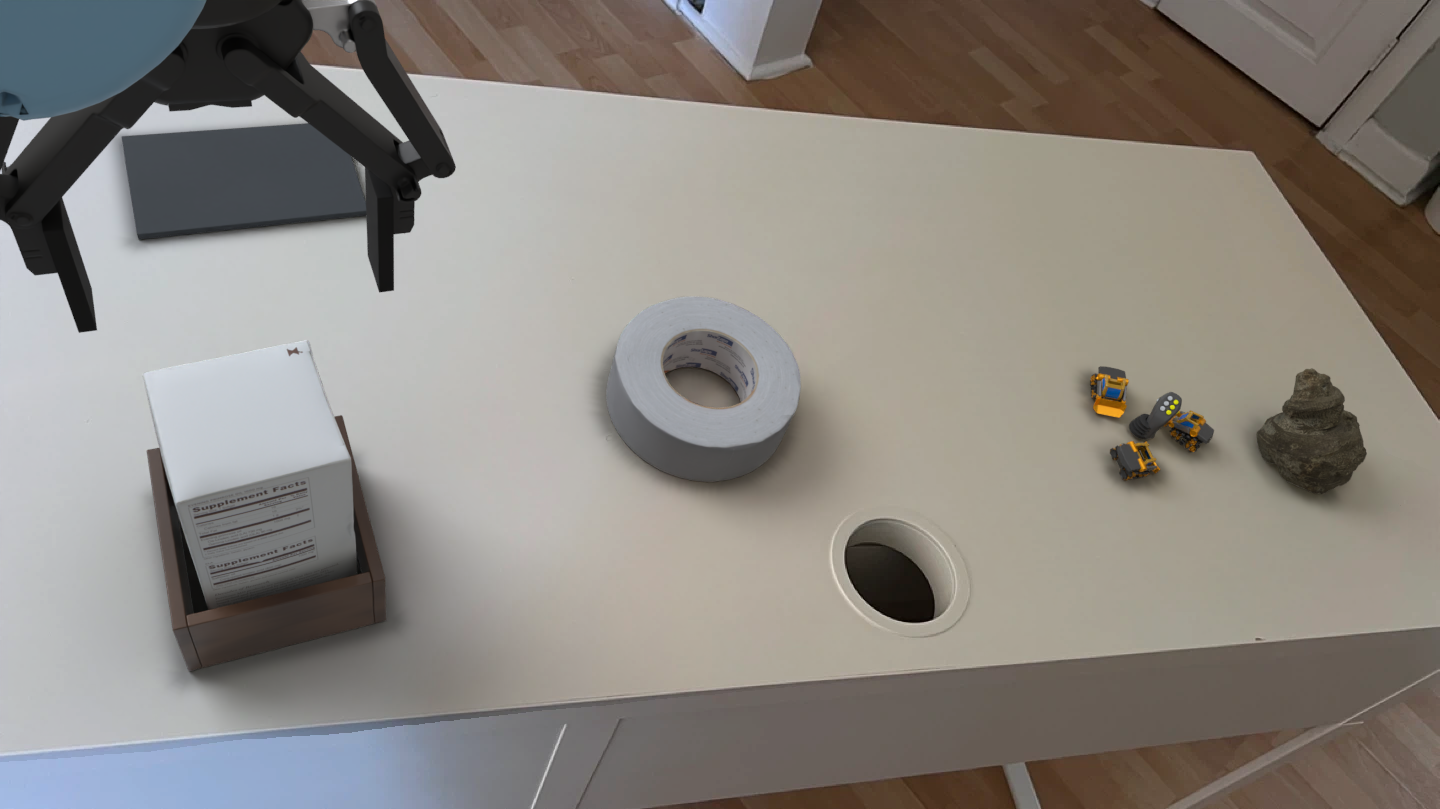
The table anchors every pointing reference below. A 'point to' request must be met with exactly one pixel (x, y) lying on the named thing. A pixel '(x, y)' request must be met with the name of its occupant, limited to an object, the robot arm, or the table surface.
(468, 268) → the table surface
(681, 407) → the tape roll
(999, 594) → the table surface
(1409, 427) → the table surface
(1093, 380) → the toy set
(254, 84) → the robot arm
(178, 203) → the mat
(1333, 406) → the seashell
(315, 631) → the brown open square box
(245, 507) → the supplement box
